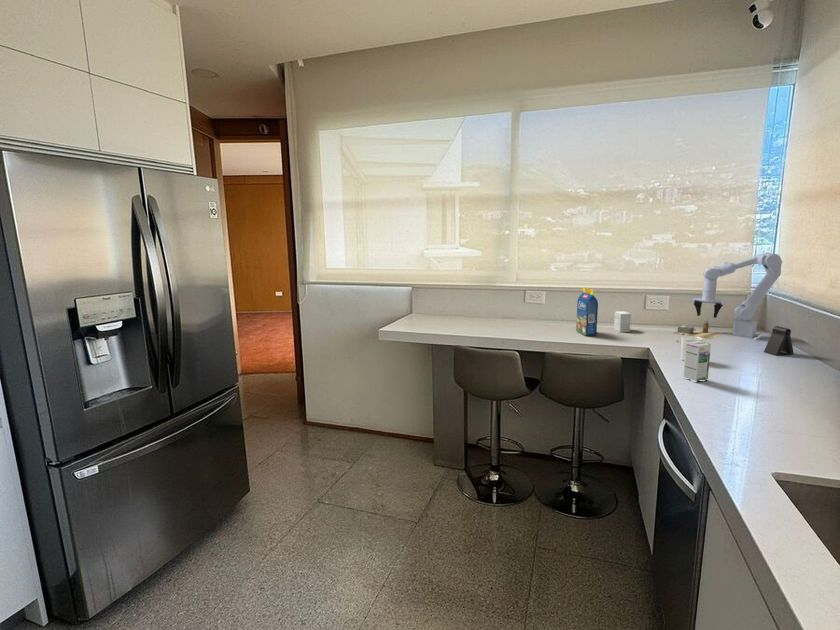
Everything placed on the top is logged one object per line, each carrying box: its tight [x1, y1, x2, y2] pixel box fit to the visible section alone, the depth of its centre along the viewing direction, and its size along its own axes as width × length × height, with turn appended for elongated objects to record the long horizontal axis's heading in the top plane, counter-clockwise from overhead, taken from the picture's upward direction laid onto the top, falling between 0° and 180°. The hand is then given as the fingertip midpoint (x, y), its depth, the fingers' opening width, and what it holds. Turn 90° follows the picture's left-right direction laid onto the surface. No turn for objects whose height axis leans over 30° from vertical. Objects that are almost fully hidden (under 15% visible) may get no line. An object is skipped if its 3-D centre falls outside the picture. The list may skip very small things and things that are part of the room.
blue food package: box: [575, 287, 599, 337], centre depth 239 cm, size 6×12×25 cm, turn 4°
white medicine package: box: [680, 335, 704, 360], centre depth 189 cm, size 8×8×10 cm
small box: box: [613, 310, 632, 333], centre depth 245 cm, size 8×6×10 cm
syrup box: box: [683, 341, 712, 381], centre depth 165 cm, size 6×6×14 cm
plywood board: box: [673, 328, 722, 340], centre depth 232 cm, size 18×16×1 cm
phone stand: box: [763, 325, 795, 357], centre depth 196 cm, size 9×6×12 cm, turn 97°
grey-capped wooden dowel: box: [702, 320, 710, 333], centre depth 233 cm, size 2×2×6 cm
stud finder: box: [677, 325, 695, 334], centre depth 234 cm, size 6×4×3 cm
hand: (706, 316), depth 232 cm, fingers open, 7 cm apart
